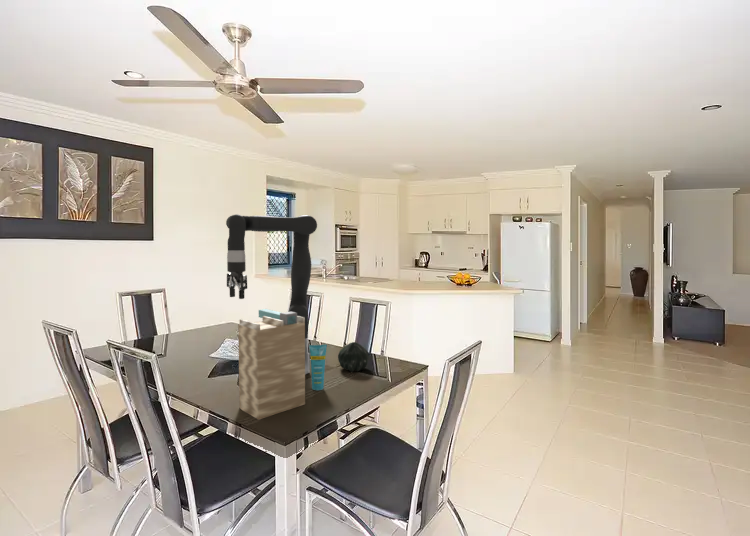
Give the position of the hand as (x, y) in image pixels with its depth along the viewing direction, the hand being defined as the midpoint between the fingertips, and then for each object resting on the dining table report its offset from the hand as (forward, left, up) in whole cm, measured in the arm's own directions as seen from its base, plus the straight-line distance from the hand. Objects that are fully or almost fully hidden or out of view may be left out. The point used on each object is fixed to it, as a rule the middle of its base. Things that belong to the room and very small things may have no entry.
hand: (236, 297), depth 180 cm
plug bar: (-7, +28, -6) cm, 29 cm away
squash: (-53, +12, -38) cm, 67 cm away
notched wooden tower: (-3, +33, -38) cm, 50 cm away
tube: (-26, +26, -38) cm, 53 cm away
